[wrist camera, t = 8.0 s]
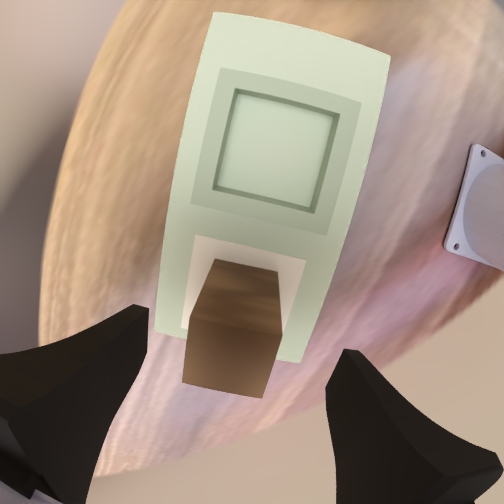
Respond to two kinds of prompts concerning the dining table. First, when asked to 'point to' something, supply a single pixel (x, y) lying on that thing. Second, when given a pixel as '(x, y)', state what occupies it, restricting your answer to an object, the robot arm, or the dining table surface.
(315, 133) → the pocket board
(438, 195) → the dining table surface
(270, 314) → the walnut post
